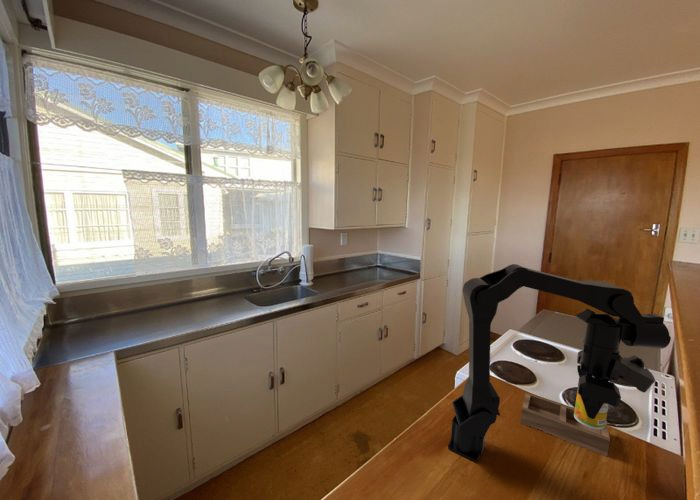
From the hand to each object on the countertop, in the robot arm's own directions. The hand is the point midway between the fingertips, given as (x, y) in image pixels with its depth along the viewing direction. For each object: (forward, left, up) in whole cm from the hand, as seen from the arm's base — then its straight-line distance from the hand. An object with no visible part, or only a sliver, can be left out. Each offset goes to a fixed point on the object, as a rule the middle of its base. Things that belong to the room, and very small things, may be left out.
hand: (590, 410), depth 66 cm
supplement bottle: (0, 0, -3) cm, 3 cm away
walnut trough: (-4, +10, -12) cm, 17 cm away
